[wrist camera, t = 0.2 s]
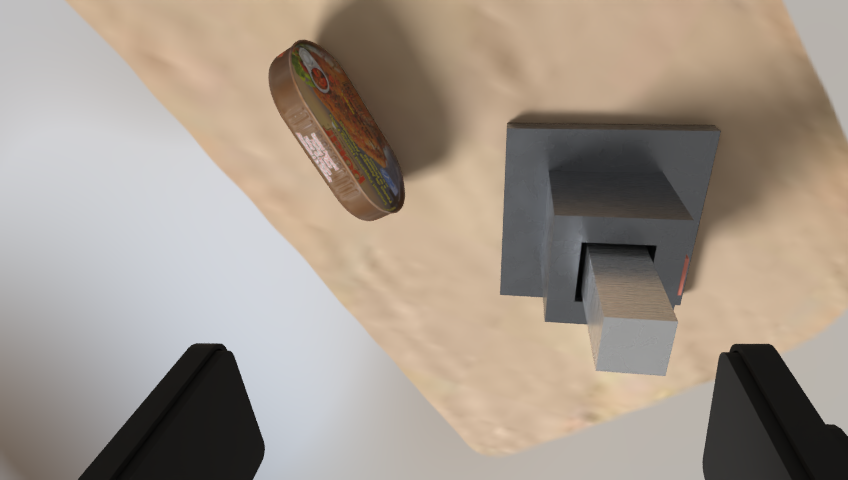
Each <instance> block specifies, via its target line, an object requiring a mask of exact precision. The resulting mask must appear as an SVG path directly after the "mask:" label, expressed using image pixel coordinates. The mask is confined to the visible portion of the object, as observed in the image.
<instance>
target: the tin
mask: <svg viewBox="0 0 848 480" xmlns="http://www.w3.org/2000/svg"><path fill="white" fill-rule="evenodd" d="M269 86H270V91H271V95H272V97H273V100H274V103H275V105H276V107H277V109H278V111H279V113H280V115H281V117H282V118H283V120H284V121H285V123H286V124H287V126H288V127H289V129H290V130H291V132H292V133H293V135H294V136H295V138H296V139H297V141H298V142H299V144H300V145H301V147H302V148H303V150H304V151H305V153H306V154H307V156H308V157H309V159H310V160H311V161H312V163H313V164H314V166H315V167H316V169H317V170H318V172H319V173H320V175H321V176H322V178H323V179H324V180H325V182H326V184H327V185H328V186H329V188H330V189H331V191H332V192H333V194H334V195H335V197H336V198H337V199H338V201H339V202H340V203H341V204H342V205H343V207H344V208H345V209H346V210H347V211H348V212H350V213H351V214H352V215H354V216H355V217H357V218H359V219H361V220H364V221H374V220H377V219H379V218H382V217H384V216H386V215H389V214H391V213H396V212H398V211H399V210H400V209H401V208H402V206H403V204H404V200H405V188H404V181H403V176H402V172H401V169H400V167H399V164H398V162H397V159H396V157H395V155H394V153H393V151H392V150H391V148H390V146H389V144H388V143H387V141H386V140H385V138H384V136H383V135H382V133H381V131H380V130H379V128H378V126H377V125H376V123H375V122H374V120H373V118H372V117H371V115H370V113H369V112H368V110H367V109H366V107H365V105H364V104H363V102H362V100H361V98H360V97H359V95H358V94H357V92H356V90H355V89H354V87H353V85H352V84H351V82H350V80H349V79H348V77H347V76H346V74H345V72H344V71H343V69H342V68H341V67H340V65H339V64H338V63H337V62H336V61H335V60H334V58H333V57H332V56H331V55H330V54H329V53H328V52H327V51H325V50H324V49H323V48H322V47H320V46H319V45H317V44H315V43H313V42H311V41H307V40H299V41H297V42H295V43H294V44H293V45H292V47H290V48H289V49H287V50H286V51H284V52H283V53H281V54H280V55H279V56H277V57H276V58H275V59H274V61H273V62H272V64H271V66H270V69H269Z"/></svg>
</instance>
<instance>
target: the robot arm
mask: <svg viewBox="0 0 848 480" xmlns="http://www.w3.org/2000/svg"><path fill="white" fill-rule="evenodd" d="M264 451H265V445H264V441H263V438H262V435H261V432H260V429H259V426H258V423H257V421H256V418H255V415H254V412H253V410H252V406H251V403H250V400H249V397H248V395H247V392H246V389H245V386H244V383H243V380H242V377H241V374H240V371H239V369H238V366H237V363H236V360H235V357H234V355H233V353H232V352H231V351H227V349H226V347H225V346H224V345H223V344H202V343H201V344H200V343H199V344H198V343H196V344H193V345H191V346H190V347H189V348H188V349H187V351H186V352H185V353H184V354H183V355H182V357H181V358H180V359H179V360H178V361H177V362H176V364H175V365H174V366H173V367H172V368H171V369H170V371H169V372H168V373H167V374H166V375H165V377H164V378H163V379H162V380H161V381H160V383H159V384H158V385H157V386H156V387H155V389H154V390H153V391H152V392H151V393H150V394H149V396H148V397H147V398H146V399H145V400H144V401H143V403H142V404H141V405H140V406H139V408H138V409H137V410H136V411H135V412H134V414H133V415H132V416H131V417H130V418H129V419H128V421H127V422H126V423H125V424H124V425H123V427H122V428H121V429H120V430H119V431H118V432H117V434H116V435H115V436H114V437H113V438H112V440H111V441H110V442H109V443H108V444H107V445H106V447H105V448H104V449H103V450H102V451H101V453H100V454H99V455H98V456H97V457H96V459H95V460H94V461H93V462H92V463H91V464H90V466H89V467H88V468H87V469H86V470H85V472H84V473H83V474H82V475H81V476H80V477H79V479H78V480H253V478H254V476H255V474H256V472H257V470H258V468H259V466H260V464H261V462H262V460H263V457H264ZM703 473H704V477H705V480H848V436H847V435H846V434H845V433H844V431H842V429H841V428H839V427H837V426H836V425H829V424H825V423H824V422H823V420H822V419H821V417H820V416H819V414H818V413H817V411H816V409H815V408H814V406H813V405H812V403H811V402H810V400H809V399H808V397H807V396H806V394H805V393H804V392H803V390H802V388H801V387H800V385H799V384H798V382H797V381H796V379H795V378H794V376H793V375H792V373H791V372H790V370H789V369H788V367H787V366H786V364H785V362H784V361H783V359H782V358H781V356H780V355H779V353H778V352H777V350H776V349H775V348H774V347H773V346H772V345H770V344H734V345H732V347H731V349H730V352H723V353H721V354H720V356H719V360H718V367H717V373H716V379H715V386H714V392H713V398H712V405H711V411H710V417H709V423H708V429H707V436H706V443H705V449H704V455H703Z"/></svg>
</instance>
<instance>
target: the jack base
mask: <svg viewBox="0 0 848 480" xmlns="http://www.w3.org/2000/svg"><path fill="white" fill-rule="evenodd" d="M720 132H721V131H720V130H719V129H718V128H717V127H716V126H715V125H635V124H544V123H507V141H506V165H505V190H504V214H503V238H502V262H501V287H500V295H513V296H530V297H543V303H544V317H545V322H558V323H574V324H587V321H586V315H585V310H584V304H583V299H582V293H581V288H580V282H579V277H578V267H579V259H580V251H581V242H587V243H610V244H634V245H646V248H647V250H648V252H649V255H650V257H651V259H652V262H653V264H654V266H655V269H656V271H657V273H658V276H659V278H660V280H661V283H662V285H663V287H664V290H665V292H666V294H667V297H668V299H669V301H670V304H671V306H672V308H673V311H674V306H675V305H680V304H681V299H682V295H683V291H684V286H685V282H686V278H687V274H688V269H689V265H690V261H691V256H692V252H693V248H694V244H695V239H696V235H697V231H698V226H699V222H700V218H701V214H702V209H703V205H704V201H705V197H706V192H707V188H708V184H709V179H710V175H711V171H712V167H713V162H714V158H715V154H716V149H717V145H718V141H719V137H720Z"/></svg>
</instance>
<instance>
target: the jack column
mask: <svg viewBox="0 0 848 480" xmlns="http://www.w3.org/2000/svg"><path fill="white" fill-rule="evenodd" d="M578 277H579V282H580V288H581V293H582V299H583V304H584V310H585V315H586V321H587V326H588V331H589V337H590V342H591V348H592V353H593V359H594V364H595V369H596V371H607V372H620V373H633V374H646V375H659V376H665V375H666V371H667V367H668V362H669V358H670V354H671V350H672V345H673V341H674V337H675V333H676V328H677V324H678V320H677V318H676V315H675V313H674V311H673V308H672V306H671V304H670V301H669V299H668V297H667V294H666V292H665V290H664V287H663V285H662V283H661V280H660V278H659V276H658V273H657V271H656V269H655V266H654V264H653V262H652V259H651V257H650V255H649V252H648V250H647V248H646V245H634V244H610V243H587V242H581V251H580V259H579V267H578Z"/></svg>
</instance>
